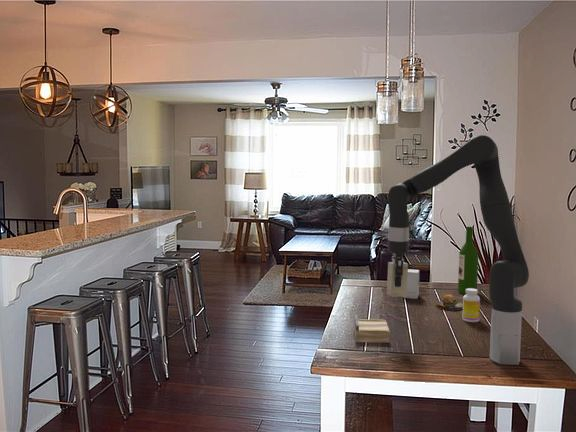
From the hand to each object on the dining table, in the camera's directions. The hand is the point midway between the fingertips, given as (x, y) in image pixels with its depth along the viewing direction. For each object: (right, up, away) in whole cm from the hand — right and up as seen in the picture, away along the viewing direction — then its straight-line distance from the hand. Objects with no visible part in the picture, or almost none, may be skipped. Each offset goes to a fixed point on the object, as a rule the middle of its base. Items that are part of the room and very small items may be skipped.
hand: (397, 284), depth 201 cm
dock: (-9, -20, +4) cm, 22 cm away
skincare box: (0, -4, 0) cm, 4 cm away
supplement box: (+19, -14, +61) cm, 66 cm away
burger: (+32, -16, +43) cm, 56 cm away
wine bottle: (+48, -13, +69) cm, 85 cm away
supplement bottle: (+35, -18, +23) cm, 45 cm away
